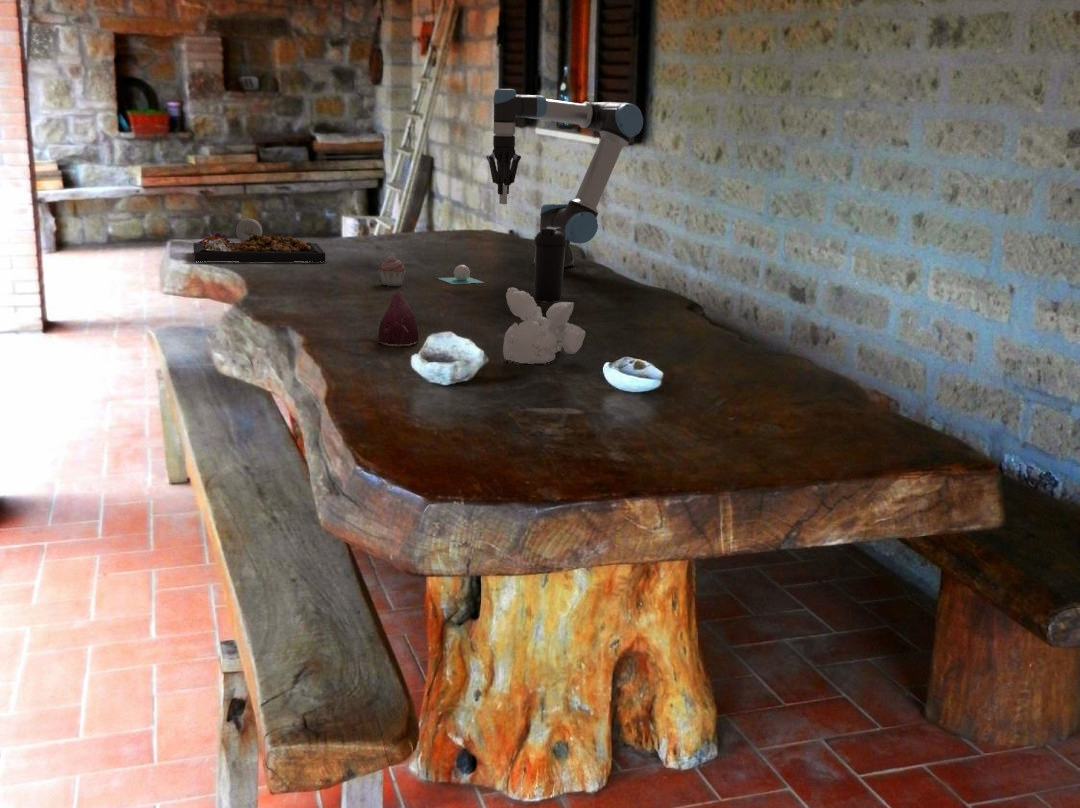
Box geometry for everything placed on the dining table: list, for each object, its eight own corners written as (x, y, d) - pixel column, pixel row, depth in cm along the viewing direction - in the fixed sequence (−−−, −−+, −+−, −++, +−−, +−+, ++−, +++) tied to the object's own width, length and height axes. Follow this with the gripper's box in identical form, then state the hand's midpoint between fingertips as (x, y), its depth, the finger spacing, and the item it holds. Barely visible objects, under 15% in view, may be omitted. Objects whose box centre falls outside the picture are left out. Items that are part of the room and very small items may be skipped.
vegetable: (380, 350, 299) (374, 293, 298) (420, 346, 299) (414, 289, 299) (377, 349, 288) (371, 290, 288) (418, 345, 289) (412, 286, 288)
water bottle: (567, 299, 366) (571, 227, 360) (557, 304, 356) (561, 230, 350) (537, 296, 369) (541, 224, 363) (527, 301, 360) (530, 227, 353)
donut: (262, 243, 454) (261, 218, 451) (262, 244, 450) (262, 219, 448) (236, 243, 451) (235, 217, 449) (236, 244, 448) (235, 218, 445)
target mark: (468, 277, 398) (468, 276, 398) (484, 283, 388) (484, 282, 388) (437, 278, 392) (437, 278, 392) (452, 284, 382) (452, 283, 382)
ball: (462, 281, 394) (467, 266, 393) (469, 284, 389) (475, 269, 389) (448, 276, 391) (454, 261, 390) (455, 279, 386) (461, 263, 386)
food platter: (195, 265, 400) (194, 235, 397) (193, 254, 422) (192, 226, 420) (325, 265, 414) (325, 236, 411) (317, 255, 436) (316, 227, 433)
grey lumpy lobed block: (480, 327, 274) (516, 275, 285) (495, 385, 288) (528, 333, 299) (551, 341, 266) (585, 287, 278) (563, 401, 280) (594, 347, 292)
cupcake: (412, 286, 376) (412, 255, 374) (390, 288, 370) (390, 257, 367) (394, 281, 382) (394, 252, 380) (372, 284, 376) (372, 253, 373)
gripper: (514, 134, 402) (513, 202, 409) (482, 134, 395) (481, 203, 402) (526, 135, 396) (524, 204, 403) (493, 135, 389) (492, 205, 396)
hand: (503, 203), depth 402 cm, fingers closed
